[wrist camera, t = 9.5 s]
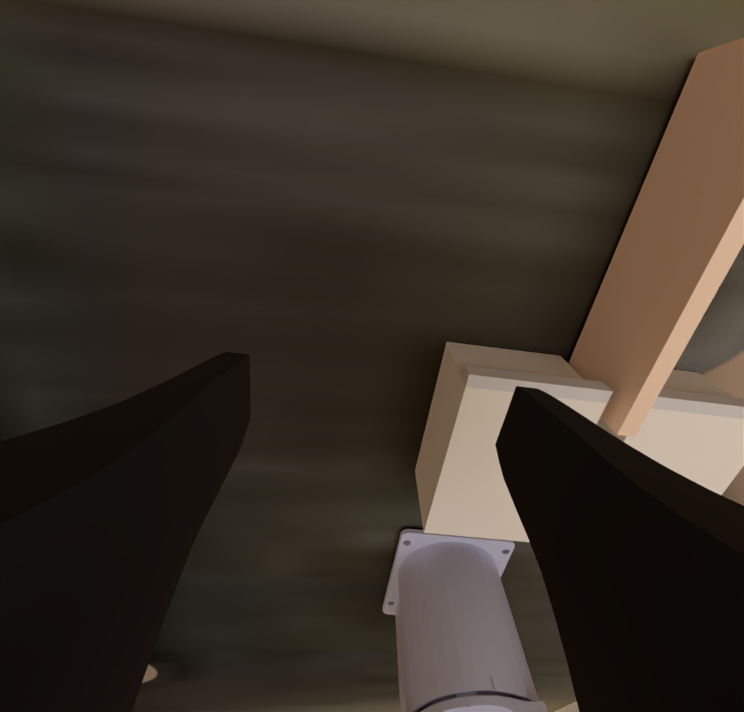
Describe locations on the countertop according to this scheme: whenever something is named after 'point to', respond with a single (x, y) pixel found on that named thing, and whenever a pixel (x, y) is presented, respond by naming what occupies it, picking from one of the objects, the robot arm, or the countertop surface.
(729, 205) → the thin wooden plank
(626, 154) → the countertop surface
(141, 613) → the robot arm
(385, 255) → the countertop surface
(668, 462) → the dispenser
